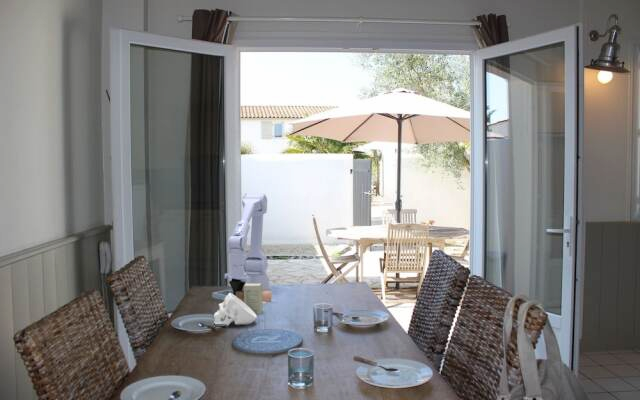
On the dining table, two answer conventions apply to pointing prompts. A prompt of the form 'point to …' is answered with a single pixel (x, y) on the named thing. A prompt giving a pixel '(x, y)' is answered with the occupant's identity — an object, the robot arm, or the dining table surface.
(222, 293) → the slate board with cubby
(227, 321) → the skull bowl
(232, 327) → the dining table surface
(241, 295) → the walnut block
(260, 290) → the skincare box
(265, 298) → the peach rounded cylinder
